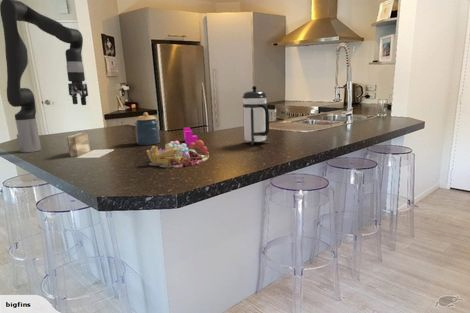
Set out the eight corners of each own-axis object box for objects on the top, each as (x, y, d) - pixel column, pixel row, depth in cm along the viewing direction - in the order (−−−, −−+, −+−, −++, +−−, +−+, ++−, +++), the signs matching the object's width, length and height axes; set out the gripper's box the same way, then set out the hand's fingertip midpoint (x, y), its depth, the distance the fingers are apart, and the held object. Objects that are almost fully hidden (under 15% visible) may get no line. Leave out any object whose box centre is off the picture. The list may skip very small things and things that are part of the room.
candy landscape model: (188, 171, 131) (187, 148, 129) (138, 167, 139) (136, 146, 137) (214, 156, 154) (213, 136, 151) (170, 154, 162) (168, 135, 160)
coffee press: (237, 145, 174) (234, 86, 168) (247, 139, 189) (245, 85, 182) (268, 146, 168) (268, 86, 161) (277, 140, 182) (276, 84, 175)
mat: (75, 158, 159) (75, 157, 159) (94, 150, 176) (94, 149, 176) (98, 158, 158) (98, 157, 158) (114, 149, 175) (114, 149, 175)
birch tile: (70, 157, 162) (66, 136, 160) (82, 151, 174) (79, 132, 172) (77, 156, 162) (74, 136, 160) (90, 151, 174) (87, 132, 171)
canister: (164, 142, 192) (162, 111, 188) (148, 146, 181) (144, 113, 177) (149, 140, 199) (146, 110, 195) (131, 144, 188) (128, 113, 184)
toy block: (197, 144, 182) (196, 130, 180) (186, 145, 181) (185, 131, 179) (195, 139, 196) (194, 127, 194) (184, 140, 195) (183, 127, 193)
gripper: (61, 71, 165) (65, 104, 169) (75, 71, 157) (79, 105, 160) (75, 71, 171) (79, 103, 175) (90, 71, 162) (94, 104, 166)
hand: (79, 104), depth 168 cm, fingers open, 8 cm apart
